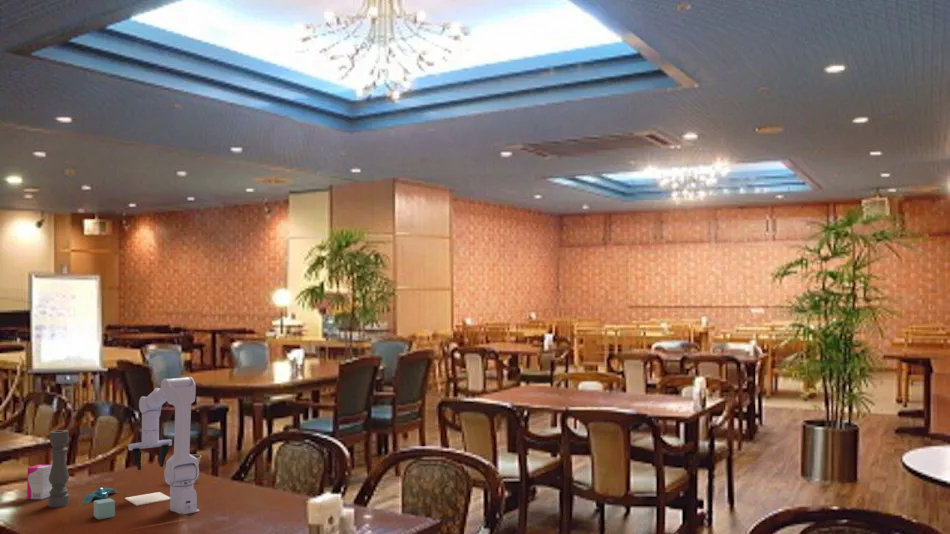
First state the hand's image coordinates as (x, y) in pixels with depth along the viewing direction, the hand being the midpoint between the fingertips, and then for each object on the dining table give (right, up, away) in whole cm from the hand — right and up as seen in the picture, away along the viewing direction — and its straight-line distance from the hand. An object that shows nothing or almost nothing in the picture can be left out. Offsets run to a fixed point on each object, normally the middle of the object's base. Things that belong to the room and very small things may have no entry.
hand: (150, 468), depth 285 cm
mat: (+2, -9, -8) cm, 12 cm away
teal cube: (-3, -8, -29) cm, 30 cm away
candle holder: (-25, -9, -15) cm, 31 cm away
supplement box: (-36, -10, -6) cm, 38 cm away
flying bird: (-16, -10, -5) cm, 20 cm away
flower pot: (+6, -10, +22) cm, 25 cm away
